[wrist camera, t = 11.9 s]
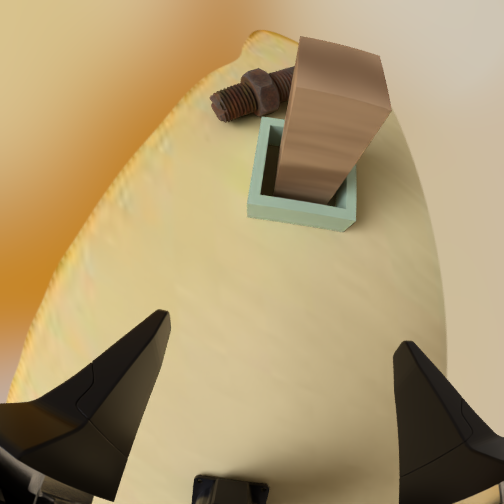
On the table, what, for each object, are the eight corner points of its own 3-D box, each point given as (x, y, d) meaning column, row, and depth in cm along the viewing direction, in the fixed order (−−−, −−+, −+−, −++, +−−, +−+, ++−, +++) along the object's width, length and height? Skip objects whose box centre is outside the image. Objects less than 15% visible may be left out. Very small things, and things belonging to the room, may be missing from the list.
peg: (324, 208, 23) (391, 110, 10) (272, 199, 23) (296, 86, 10) (326, 163, 24) (379, 55, 11) (278, 155, 24) (300, 36, 11)
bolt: (216, 127, 27) (335, 86, 28) (233, 145, 23) (364, 98, 24) (198, 78, 22) (329, 42, 23) (212, 86, 19) (359, 48, 20)
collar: (343, 232, 22) (355, 221, 19) (247, 217, 23) (247, 203, 20) (344, 151, 24) (354, 133, 21) (260, 136, 24) (261, 116, 21)
